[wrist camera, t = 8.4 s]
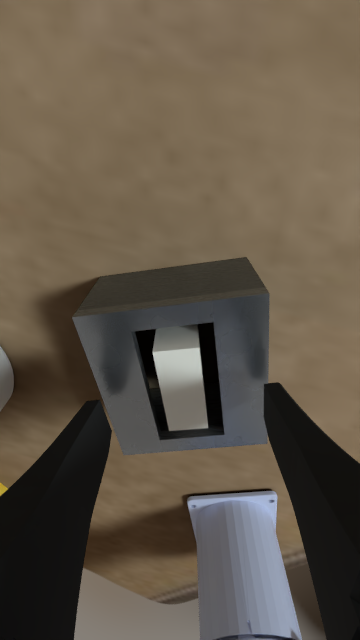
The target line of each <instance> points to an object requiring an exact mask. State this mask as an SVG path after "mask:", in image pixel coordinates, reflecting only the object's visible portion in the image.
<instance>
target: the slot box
mask: <svg viewBox="0 0 360 640" xmlns="http://www.w3.org/2000/svg"><path fill="white" fill-rule="evenodd" d="M72 319H73V321H74V324H75V327H76V329H77V332H78V335H79V337H80V340H81V343H82V345H83V348H84V351H85V353H86V356H87V359H88V361H89V364H90V367H91V369H92V372H93V375H94V377H95V380H96V383H97V385H98V388H99V391H100V393H101V396H102V399H103V401H104V404H105V407H106V409H107V412H108V415H109V417H110V420H111V423H112V425H113V428H114V431H115V433H116V436H117V439H118V441H119V444H120V447H121V449H122V452H123V455H133V454H145V453H157V452H169V451H181V450H194V449H206V448H218V447H230V446H242V445H255V444H267V429H266V425H265V421H264V384H268V358H269V292H268V290H267V289H266V287H265V286H264V284H263V282H262V281H261V279H260V278H259V276H258V274H257V273H256V271H255V270H254V268H253V267H252V265H251V263H250V262H249V260H248V259H247V257H245V258H238V259H230V260H222V261H215V262H207V263H200V264H192V265H185V266H177V267H170V268H162V269H155V270H147V271H140V272H132V273H125V274H117V275H109V276H102V277H100V278H99V279H98V281H97V282H96V284H95V285H94V286H93V288H92V289H91V291H90V292H89V294H88V295H87V297H86V298H85V299H84V301H83V302H82V304H81V305H80V307H79V308H78V310H77V311H76V312H75V314H74V315H73V317H72ZM210 322H213V325H214V336H215V346H216V356H217V367H218V377H219V382H218V383H208V384H204V388H205V399H206V410H207V421H208V428H202V429H189V430H176V431H169V428H168V423H167V419H166V414H165V409H164V404H163V400H162V395H161V390H160V388H158V389H150V388H149V384H148V380H147V376H146V373H145V369H144V365H143V361H142V357H141V353H140V349H139V345H138V342H137V338H136V334H135V331H141V330H150V329H159V328H167V327H176V326H184V325H193V324H202V323H210Z"/></svg>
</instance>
